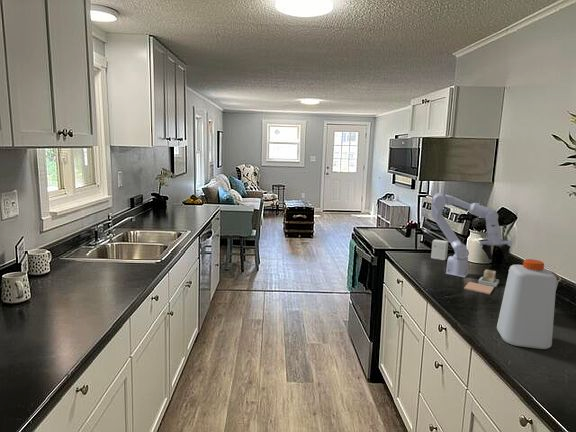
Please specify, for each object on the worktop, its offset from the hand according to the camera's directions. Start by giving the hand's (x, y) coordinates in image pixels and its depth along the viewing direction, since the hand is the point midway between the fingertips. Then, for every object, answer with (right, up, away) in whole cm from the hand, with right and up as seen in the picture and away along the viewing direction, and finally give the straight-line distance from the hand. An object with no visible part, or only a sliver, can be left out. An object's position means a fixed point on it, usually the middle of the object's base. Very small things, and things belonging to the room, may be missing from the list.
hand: (498, 259), depth 209 cm
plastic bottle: (-24, -21, -64) cm, 71 cm away
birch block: (-7, -11, -5) cm, 14 cm away
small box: (-17, -3, +37) cm, 40 cm away
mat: (-16, -12, -13) cm, 24 cm away
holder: (-7, -11, -5) cm, 14 cm away
